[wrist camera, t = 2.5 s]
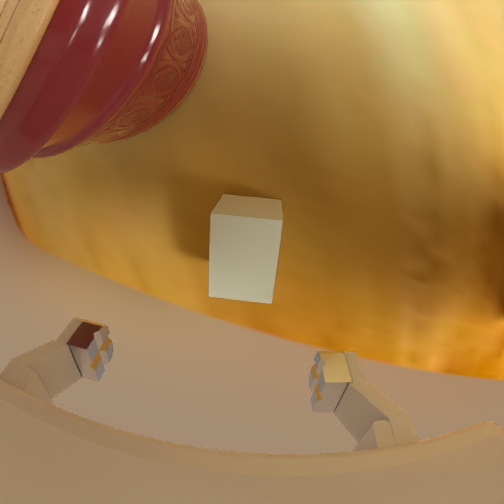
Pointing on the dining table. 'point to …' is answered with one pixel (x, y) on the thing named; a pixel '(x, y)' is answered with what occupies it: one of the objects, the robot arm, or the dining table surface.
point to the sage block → (244, 248)
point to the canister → (92, 71)
